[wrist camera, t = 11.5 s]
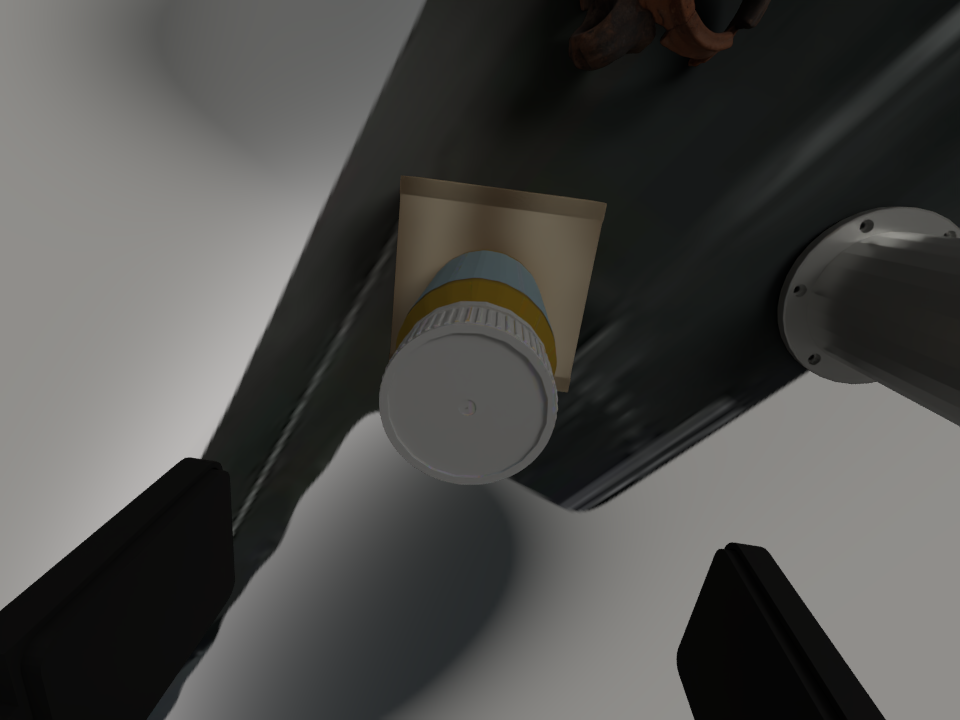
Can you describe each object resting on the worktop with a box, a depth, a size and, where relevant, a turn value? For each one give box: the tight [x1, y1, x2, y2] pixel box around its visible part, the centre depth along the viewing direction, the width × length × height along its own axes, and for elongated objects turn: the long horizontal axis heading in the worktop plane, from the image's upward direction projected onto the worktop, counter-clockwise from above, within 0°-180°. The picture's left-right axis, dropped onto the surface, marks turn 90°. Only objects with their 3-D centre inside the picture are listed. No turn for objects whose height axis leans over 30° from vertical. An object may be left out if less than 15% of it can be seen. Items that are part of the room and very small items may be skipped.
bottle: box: [379, 250, 558, 485], centre depth 23 cm, size 7×7×15 cm
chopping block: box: [389, 176, 607, 392], centre depth 33 cm, size 12×12×6 cm
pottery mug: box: [569, 0, 771, 71], centre depth 28 cm, size 12×9×8 cm
